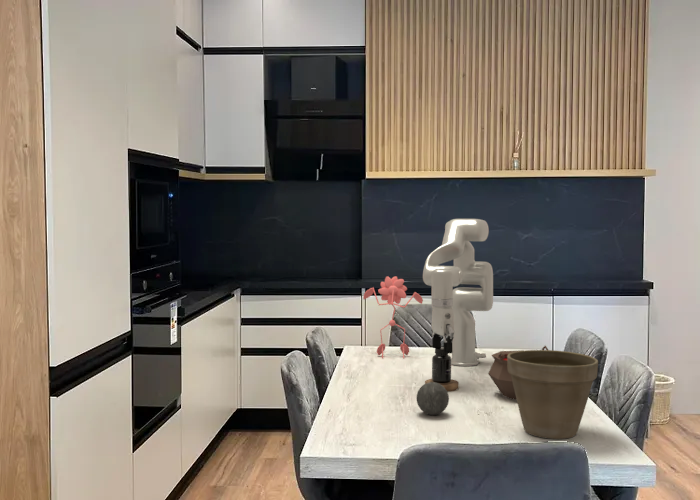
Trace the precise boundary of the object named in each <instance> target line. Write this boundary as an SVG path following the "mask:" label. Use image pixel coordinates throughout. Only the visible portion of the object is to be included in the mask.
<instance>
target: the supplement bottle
mask: <svg viewBox="0 0 700 500" xmlns="http://www.w3.org/2000/svg"><path fill="white" fill-rule="evenodd" d="M434 353H435V354H434V355H433V356H432V358H431V379H432V381H433V382H436V383H448V382H450V381H451V379H452V364H451V358H452V356H450V353H448V354H444V346H443V347H442V346H441V347H437V348H434Z"/></svg>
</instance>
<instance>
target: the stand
mask: <svg viewBox="0 0 700 500" xmlns="http://www.w3.org/2000/svg"><path fill="white" fill-rule="evenodd" d="M429 382H433V381H432V378H430V379H429V378H428V379H426V380H424V384H426V383H429ZM439 384H441V385H442V386H443V387H444V388H445V389H446V390H447V392H448V393H449V392H455V391H458V390H459V386H460V385H459V381H458V380H456V379H452V378H451V381H450V382H448V383H439Z"/></svg>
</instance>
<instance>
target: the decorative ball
mask: <svg viewBox="0 0 700 500" xmlns="http://www.w3.org/2000/svg"><path fill="white" fill-rule="evenodd" d="M449 397H450V396H449V391H448V392H447V390H446V389H445V388H444V387H443V386H442V385H441V384H439V383H436V382H429V383H426V384H425V383H424V384H423V385H421V386H420V388H419V389H418V391H417V394H416V403H417V407H419V409H420V410H421V411H422V412H423V413H425V415H431V416H435V415H436V416H437V415H440V414H441V413H442V412H444V411H445V410H446V409H447V408H448V405H449V402H450V398H449Z"/></svg>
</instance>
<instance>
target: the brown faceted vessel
mask: <svg viewBox="0 0 700 500" xmlns="http://www.w3.org/2000/svg"><path fill="white" fill-rule="evenodd" d="M541 350H549V349H548V347H547V345H544V346H543V347H542V348H541ZM517 351H525V350H524V349H522V350H502V351H501V350H500V351H498V352H496V353H494V354H491V357H492V358H493V359H494V360H493V362H492V364H491V366H490V369H489V370H488V373H487V374H488V376H489V377H490V379H491V380H492V381H493V383H494V384H495V386H496V388H497V389H498V391H499V392H500V394H501V395H502V396H503V397H505V398H506V399H509V400H514V401H515V400H516V401H517V399H516V395H515V390H514V386H513V382H512V377H511V374H509V373H508V366H507V355H508V354H509V353H512V352H517Z"/></svg>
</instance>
